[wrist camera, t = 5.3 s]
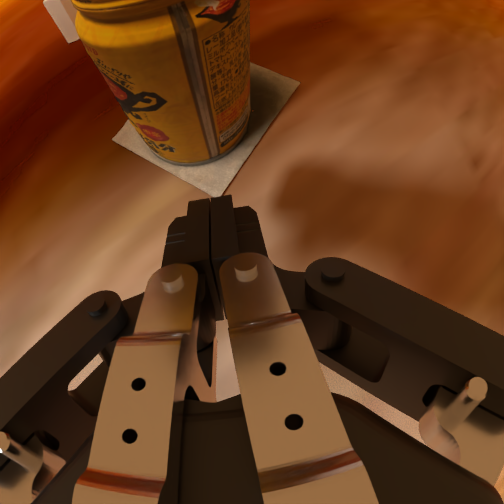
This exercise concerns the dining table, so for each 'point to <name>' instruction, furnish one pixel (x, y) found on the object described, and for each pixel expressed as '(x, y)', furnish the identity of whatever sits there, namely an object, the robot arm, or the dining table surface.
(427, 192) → the dining table surface
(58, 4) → the caddy
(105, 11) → the condiment
